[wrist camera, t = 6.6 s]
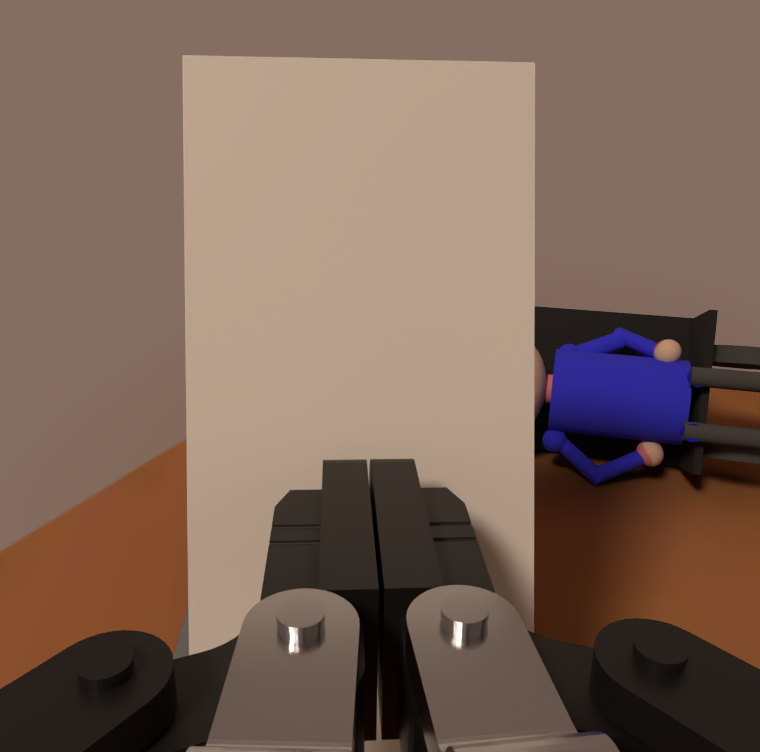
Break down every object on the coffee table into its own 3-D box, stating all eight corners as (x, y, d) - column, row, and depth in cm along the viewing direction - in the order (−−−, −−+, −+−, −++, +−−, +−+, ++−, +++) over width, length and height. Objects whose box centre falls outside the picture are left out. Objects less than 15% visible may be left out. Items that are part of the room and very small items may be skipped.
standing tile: (502, 826, 15) (502, 110, 15) (533, 914, 13) (535, 62, 12) (215, 838, 15) (208, 105, 15) (192, 931, 12) (182, 55, 12)
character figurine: (793, 535, 28) (419, 482, 32) (760, 447, 35) (451, 412, 39) (841, 348, 25) (421, 315, 29) (794, 289, 32) (455, 269, 35)
